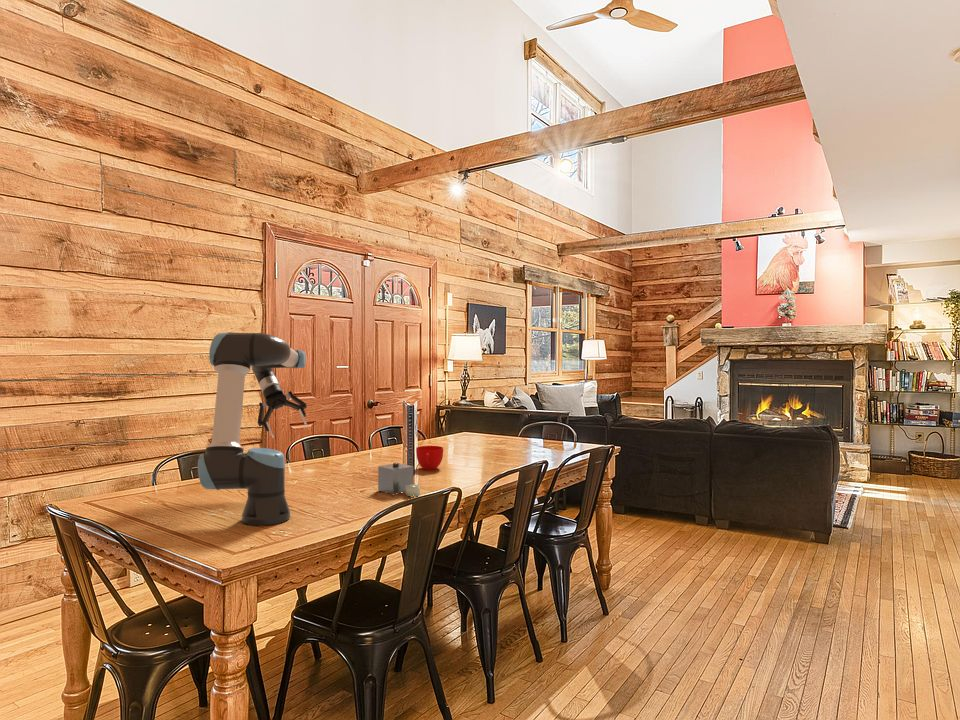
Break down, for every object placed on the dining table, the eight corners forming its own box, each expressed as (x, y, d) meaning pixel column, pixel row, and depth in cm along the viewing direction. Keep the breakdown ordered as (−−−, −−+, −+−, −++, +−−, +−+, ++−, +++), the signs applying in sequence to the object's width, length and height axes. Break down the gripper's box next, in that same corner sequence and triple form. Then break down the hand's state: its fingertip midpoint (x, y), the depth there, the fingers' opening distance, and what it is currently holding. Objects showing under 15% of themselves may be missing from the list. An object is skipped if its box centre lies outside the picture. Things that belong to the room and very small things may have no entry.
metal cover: (413, 491, 244) (413, 463, 244) (393, 495, 237) (393, 466, 237) (398, 487, 251) (398, 460, 251) (378, 490, 244) (378, 463, 244)
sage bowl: (421, 497, 235) (421, 486, 234) (408, 498, 232) (408, 488, 232) (417, 493, 240) (417, 483, 240) (403, 495, 237) (403, 485, 237)
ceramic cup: (413, 472, 280) (413, 451, 280) (418, 465, 297) (418, 445, 297) (440, 473, 280) (441, 451, 279) (444, 466, 296) (444, 445, 296)
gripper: (301, 383, 263) (319, 422, 253) (243, 405, 253) (260, 446, 244) (299, 374, 257) (318, 413, 247) (239, 395, 247) (257, 437, 238)
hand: (289, 429), depth 246 cm, fingers open, 13 cm apart
